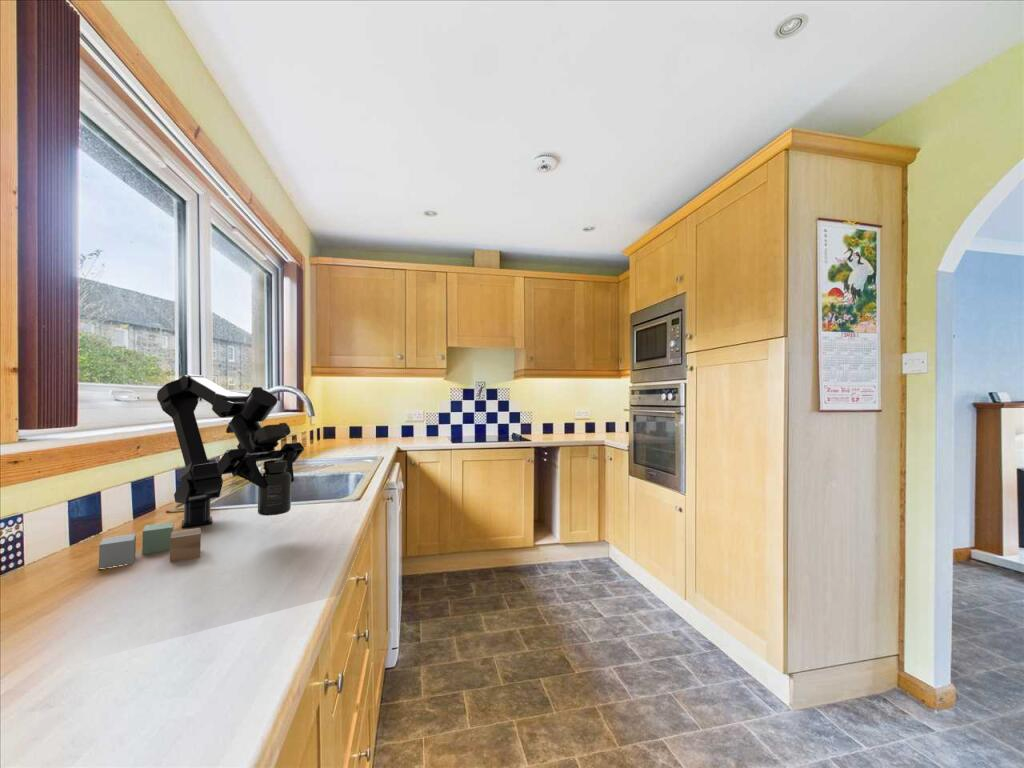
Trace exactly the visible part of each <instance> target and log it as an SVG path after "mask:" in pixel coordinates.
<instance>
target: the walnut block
mask: <svg viewBox="0 0 1024 768" xmlns="http://www.w3.org/2000/svg"><path fill="white" fill-rule="evenodd" d="M201 533H202V531H201V527H196V528H191V529H190V528H188V529H183V530H182V529H181V530H175V531H174V530H173V532H172V533H171V541H170V550H169V551H170V552H169V555H170V556H169V563H175V562H181V561H186V560H192V559H197V558H199V559H200V558H201V545H202V542H201V540H202V539H201V538H202V537H201V535H202V534H201Z"/></svg>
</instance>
